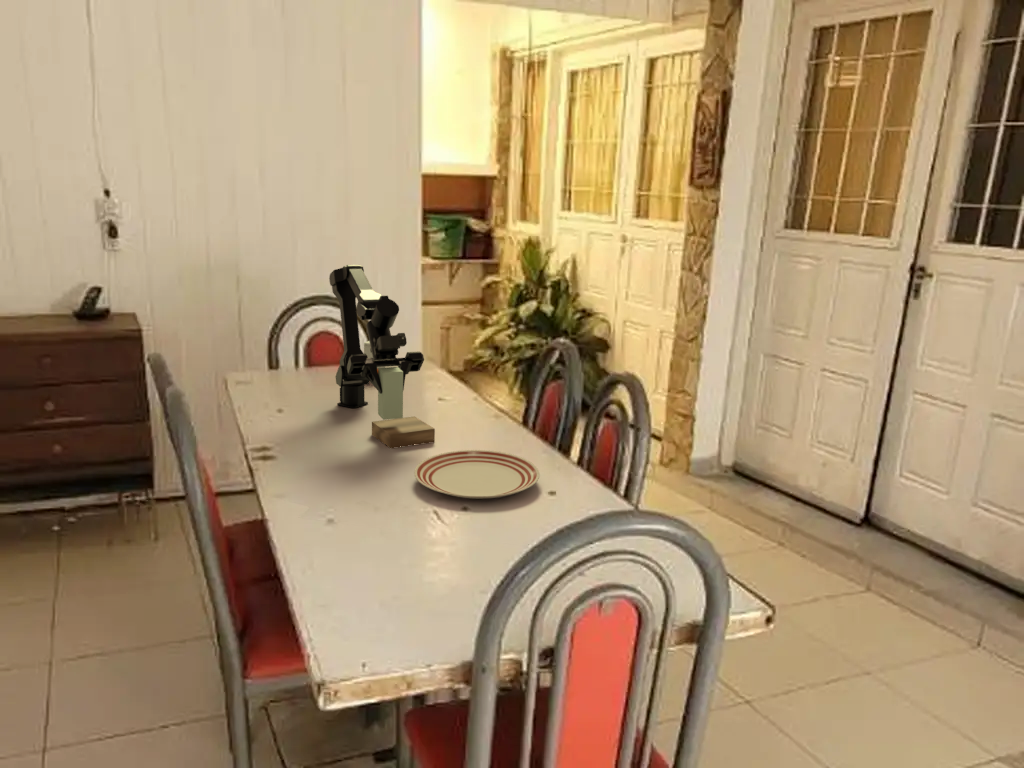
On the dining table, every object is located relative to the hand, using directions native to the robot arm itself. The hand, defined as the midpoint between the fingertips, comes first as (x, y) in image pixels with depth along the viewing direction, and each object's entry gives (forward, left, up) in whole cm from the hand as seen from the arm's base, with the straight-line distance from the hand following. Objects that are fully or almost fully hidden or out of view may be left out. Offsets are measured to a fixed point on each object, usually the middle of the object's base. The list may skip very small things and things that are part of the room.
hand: (392, 392), depth 203 cm
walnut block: (-1, -4, -13) cm, 14 cm away
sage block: (+1, -1, -7) cm, 7 cm away
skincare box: (+44, -51, -13) cm, 69 cm away
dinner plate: (-33, +13, -13) cm, 37 cm away
